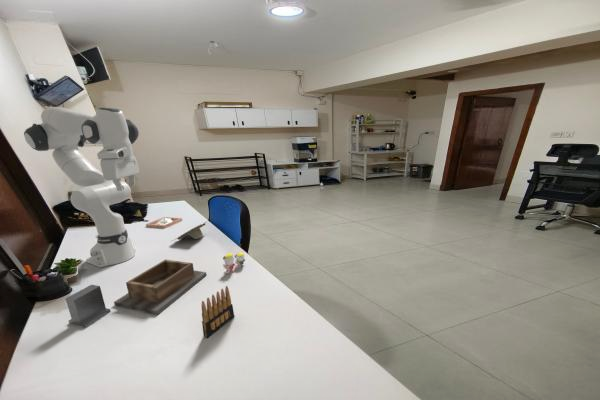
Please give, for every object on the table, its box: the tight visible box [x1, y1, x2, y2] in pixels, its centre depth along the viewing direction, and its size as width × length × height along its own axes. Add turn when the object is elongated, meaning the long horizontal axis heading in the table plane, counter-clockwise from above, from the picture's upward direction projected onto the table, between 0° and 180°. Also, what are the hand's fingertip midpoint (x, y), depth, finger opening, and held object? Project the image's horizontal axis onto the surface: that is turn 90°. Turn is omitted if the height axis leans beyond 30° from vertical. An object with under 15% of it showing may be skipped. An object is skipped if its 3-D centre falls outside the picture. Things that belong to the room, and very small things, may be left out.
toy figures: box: [222, 252, 246, 274], centre depth 114 cm, size 12×4×8 cm, turn 144°
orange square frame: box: [145, 216, 183, 229], centre depth 182 cm, size 16×16×2 cm
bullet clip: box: [201, 285, 235, 339], centre depth 78 cm, size 11×2×12 cm, turn 147°
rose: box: [156, 217, 173, 225], centre depth 181 cm, size 10×4×10 cm
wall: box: [171, 221, 207, 242], centre depth 150 cm, size 19×10×17 cm
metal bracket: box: [65, 284, 111, 329], centre depth 85 cm, size 8×8×10 cm
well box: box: [113, 259, 207, 316], centre depth 100 cm, size 20×26×8 cm
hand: (126, 188), depth 99 cm, fingers open, 8 cm apart
